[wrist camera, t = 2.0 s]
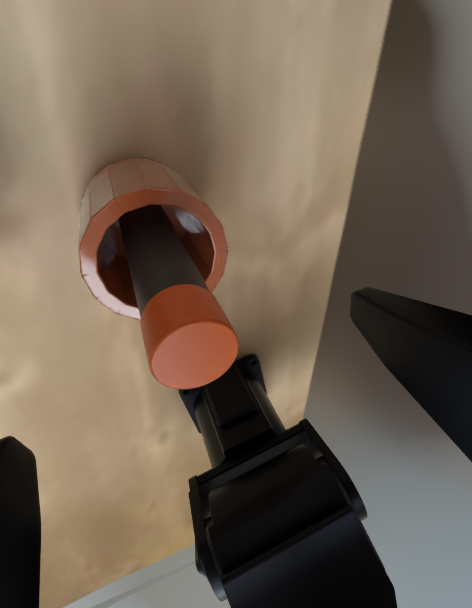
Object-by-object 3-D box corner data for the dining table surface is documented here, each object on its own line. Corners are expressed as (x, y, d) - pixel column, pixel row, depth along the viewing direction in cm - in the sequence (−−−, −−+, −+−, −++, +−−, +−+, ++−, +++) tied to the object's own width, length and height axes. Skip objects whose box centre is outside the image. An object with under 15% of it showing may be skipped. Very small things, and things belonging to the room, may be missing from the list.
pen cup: (207, 246, 19) (238, 291, 15) (111, 281, 18) (119, 338, 14) (177, 142, 15) (209, 167, 11) (56, 178, 14) (46, 219, 10)
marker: (173, 234, 17) (246, 368, 9) (129, 250, 16) (167, 402, 9) (158, 189, 15) (230, 306, 8) (109, 205, 15) (134, 344, 7)
